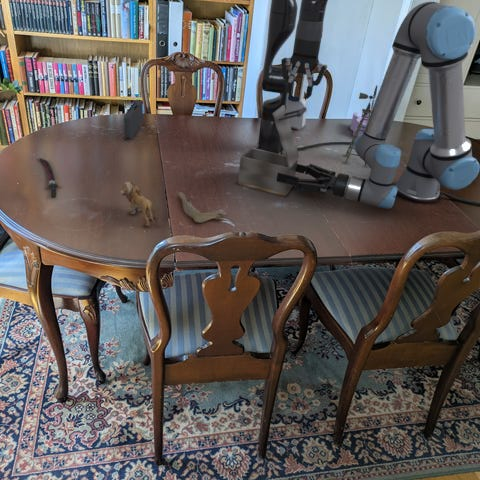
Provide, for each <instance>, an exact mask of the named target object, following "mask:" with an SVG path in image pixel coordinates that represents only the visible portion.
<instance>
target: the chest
mask: <svg viewBox="0 0 480 480" xmlns="http://www.w3.org/2000/svg"><path fill="white" fill-rule="evenodd" d="M298 162H299V158H298V159H297V161H296V162H295V163H294V164H293V165H292V167H290V168H289V166H288V163H287V160H286V157H285V154H277V153H273V152H269V151H264V150H260V149H257V148H255V147H250V148H248V149H247V150H246V151H245V152H244V153H243V154H242V155H241V156H240V160H239V167H238V168H239V169H238V180H237V185H240V186H244V187H249V188H252V189H256V190H260V191H264V192H268V193H271V194H275V195H278V196H282V197H286V196H287V195H288V193H289V192H290V191H291V189H292V188H293V186H294V185H291V184H287V183H283V182H279V181H277V174H278V173H282V174H286V175H290V176H294V177H296V173H297V172H296V168H297V164H298Z"/></svg>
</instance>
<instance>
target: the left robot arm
mask: <svg viewBox="0 0 480 480" xmlns="http://www.w3.org/2000/svg"><path fill="white" fill-rule="evenodd" d="M328 1H329V0H301V2H300V6H299V7H300V8H298V3H297V0H271V1H270V9H269V10H270V11H269V16H268V28H267V42H266V48H265V56H264V62H263V67H262V73H261V79H260V80H261V82H260V84H261V85H260V87H261V90H262V91H264V92H267V93H274V94H275V93H276V94H279V95H278V96H276V97H273V98H269V99H266V100H264V101H263V102H262V105H261V114H260V123H259V131H258V138H257V139H258V140H257V142H256V147H257V148H256V149H260V150H264V151H269V152H273V153H277V154H281V155H283V152H284V150H283V147H282V143H281V140H280V137H279V133H278V130H277V127H276V123H275V120H274V117H273V113H274V112H275V111H276V110H277V109H279V108H280V107H281V106H282V105H284V106H285V109H287V101H288V95H292V96H293V93H294V88H295V87H294V86H295V79H296V77H297V76H298V74H302V73H303V74H305V75H306V76H307V85H306V90H305V91H306V92H305V96H304V97H305V98H304V99H305V100H307V99H310V98H311V97H312V95H313V90H314V87H315V86H316V87H317V86H319V85H320V84H321V82H322V80H323V77H324V75H325V73H326V71H327V69H328V65H327V64H323V63H321V62H320V60H319V54H320V49H321V44H322V39H323V31H324V21H325V14H326V9H327V5H328ZM298 9H299V15H298ZM297 17H298V20H297ZM296 23H297V24H296ZM294 31H295V35H294V42H293V43H294V44H293V49H292V54H291V57H285V56H284V58H282V59H281V60H280V61H281V62H280V63H281V66H280V65H274V64H273V63H274V60H275V58H276V56H277V54H278V52H279V51H280V50H281V48H283V45H284V44H285V43H286V42H287V41H288V40H289V38H290V37H291V36H292V34H293V33H294ZM291 63H292V66H293V68H294V69H293V71H292V70H291V69H290V67H289V65H291ZM316 68H317V71H318V74H317V77H316V79H314V78H315V77H314V75H315V74H314V70H315V69H316ZM351 142H352V141H329V142H321V143H320V142H319V143H314V144H311V145H306V146H305V145H304V146H302V147H297V151H303V150H306V149H310V148H315V147H319V146H320V147H321V146H328V145H350V144H351ZM352 144H353V143H352Z"/></svg>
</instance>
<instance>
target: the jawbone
mask: <svg viewBox="0 0 480 480" xmlns="http://www.w3.org/2000/svg"><path fill="white" fill-rule="evenodd" d="M177 195H178V197H179V198H180V199H181V202H182V203H181V204H182V209H183V212H184V214H186V215H187V216H188V217H189V218H191V219H193V221H194V222H195V223H198V224H202V223H205V222H207V221H210V220H213V219H214V220H216V221H219V220H220V215H223V216H224V215H228V213H227V212H226V211H224V210H220V209H217V210H212V211H209V212H201V211H199V210H198V209H197V208H195V206H193V203H192V202H191V201H188V200H187V197H186V195H185V194H184V192H183V191H181V192H177Z"/></svg>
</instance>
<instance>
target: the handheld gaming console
mask: <svg viewBox="0 0 480 480" xmlns="http://www.w3.org/2000/svg"><path fill="white" fill-rule="evenodd" d="M143 107H144V105H143V100H142V99H136V100H135V101H134V102H133V103H132V104H131V106H130V107H129V108H128V109H127V111H126V113H125V114H124V115H123V116H124V117H123V125H124V126H123V127H124V128H123V129H124V139H125V140H128V141H129V140H130V141H132V139H133V138H134V137H135V135H136V133H137V132H138V131H139V129H140V128H141V126H142V124H143V120H144V113H143V112H144V111H143Z"/></svg>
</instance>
